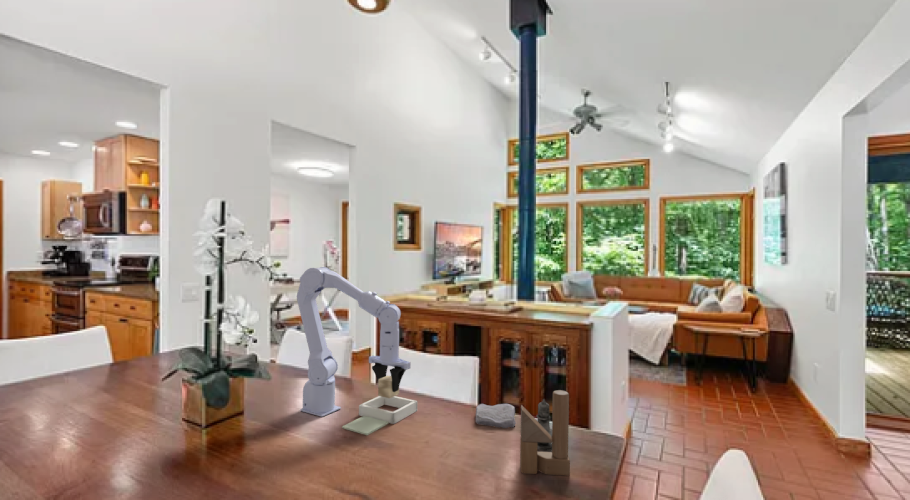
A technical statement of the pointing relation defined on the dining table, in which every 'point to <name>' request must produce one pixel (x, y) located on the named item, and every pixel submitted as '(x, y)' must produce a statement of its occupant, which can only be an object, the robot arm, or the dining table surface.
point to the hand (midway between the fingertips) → (388, 389)
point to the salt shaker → (544, 423)
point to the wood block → (386, 387)
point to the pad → (365, 425)
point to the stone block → (496, 415)
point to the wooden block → (546, 440)
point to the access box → (391, 417)
